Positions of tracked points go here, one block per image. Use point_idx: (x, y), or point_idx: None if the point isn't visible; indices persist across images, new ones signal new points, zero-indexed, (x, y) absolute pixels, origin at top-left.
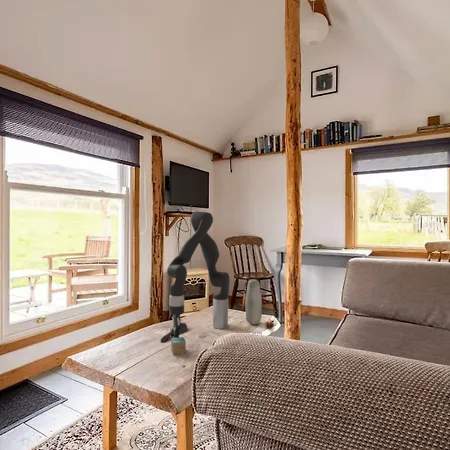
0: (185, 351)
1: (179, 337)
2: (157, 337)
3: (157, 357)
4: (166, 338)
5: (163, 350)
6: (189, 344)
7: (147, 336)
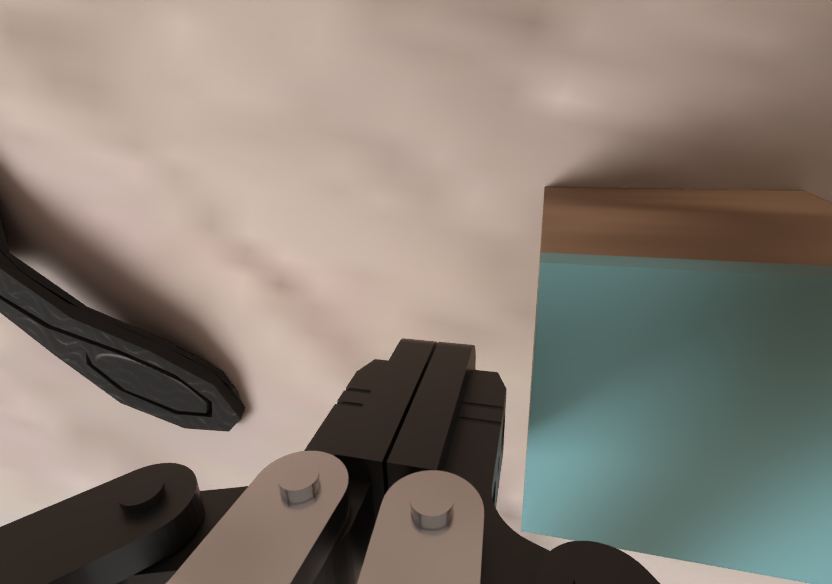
0: (820, 201)
1: (545, 365)
2: (85, 415)
3: (712, 580)
4: (164, 369)
5: (505, 464)
6: (387, 21)
7: (64, 489)
